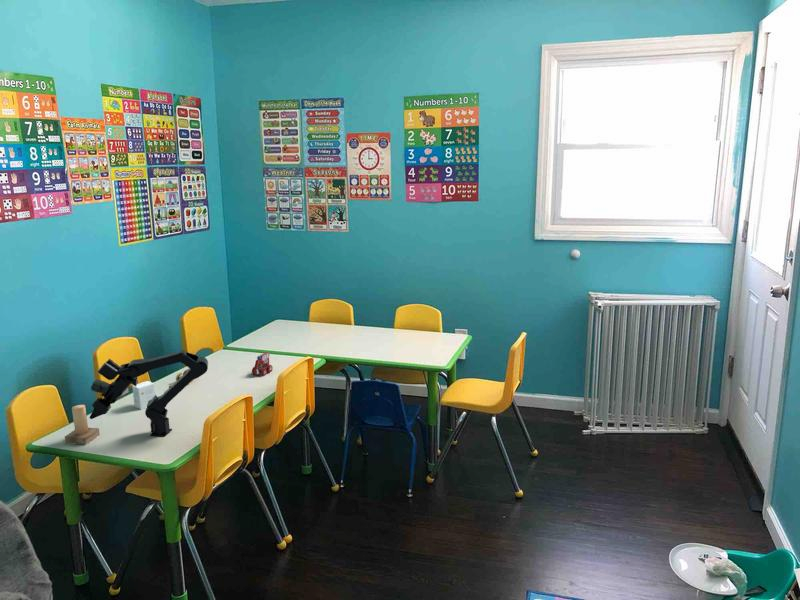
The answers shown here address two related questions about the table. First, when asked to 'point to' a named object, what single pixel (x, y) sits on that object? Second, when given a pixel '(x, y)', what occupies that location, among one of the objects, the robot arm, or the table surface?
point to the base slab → (82, 436)
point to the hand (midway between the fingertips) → (94, 413)
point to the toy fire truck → (262, 365)
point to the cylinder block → (80, 419)
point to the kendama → (180, 376)
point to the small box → (143, 394)
